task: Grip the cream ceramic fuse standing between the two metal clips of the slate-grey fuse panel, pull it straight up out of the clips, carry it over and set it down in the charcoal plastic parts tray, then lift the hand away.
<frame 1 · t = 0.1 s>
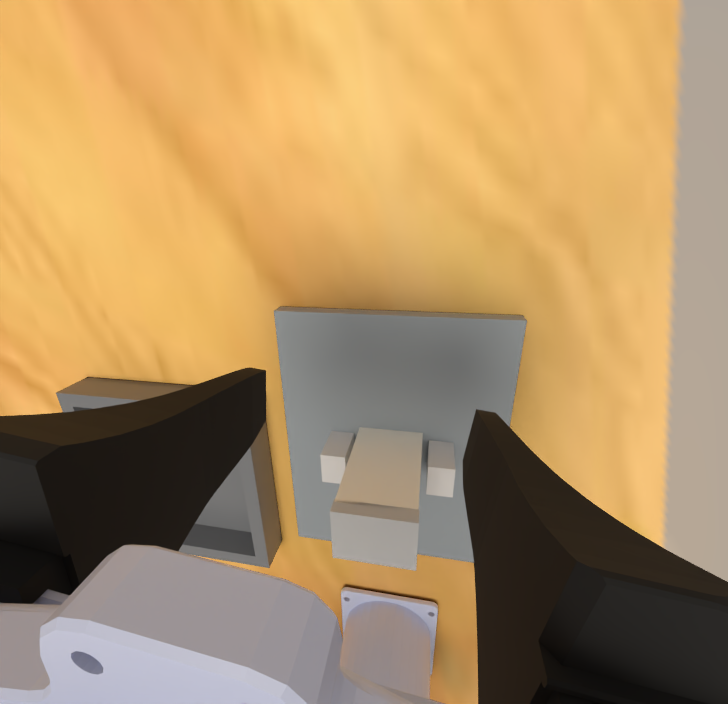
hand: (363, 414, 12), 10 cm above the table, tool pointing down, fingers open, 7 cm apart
blown fuse: (390, 449, 23), point 1 cm above the table, touching fuse panel
parts tray: (189, 462, 28), on the table
fuse panel: (392, 440, 24), on the table
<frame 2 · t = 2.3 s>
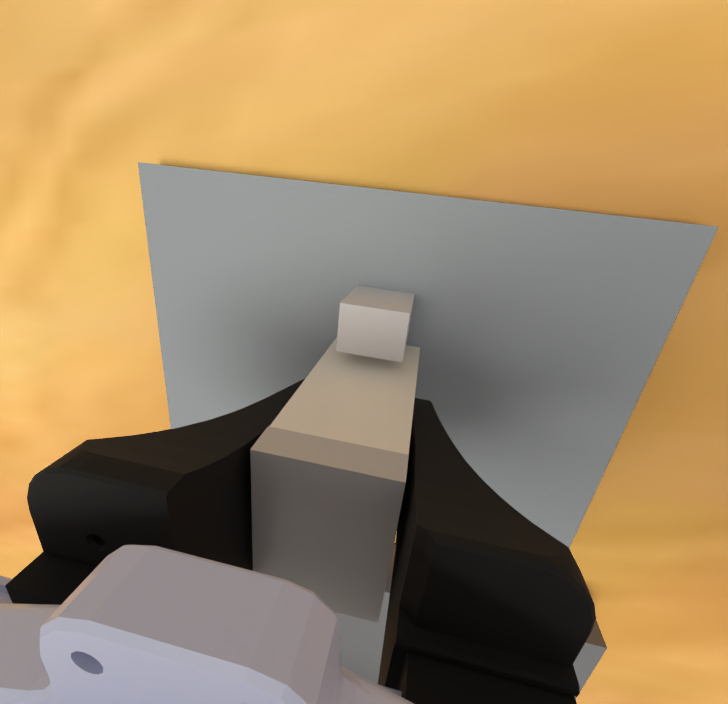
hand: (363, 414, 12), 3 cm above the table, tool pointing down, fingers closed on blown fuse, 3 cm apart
blown fuse: (372, 388, 14), point 1 cm above the table, touching fuse panel, gripper
parts tray: (412, 638, 21), on the table
fuse panel: (376, 377, 15), on the table
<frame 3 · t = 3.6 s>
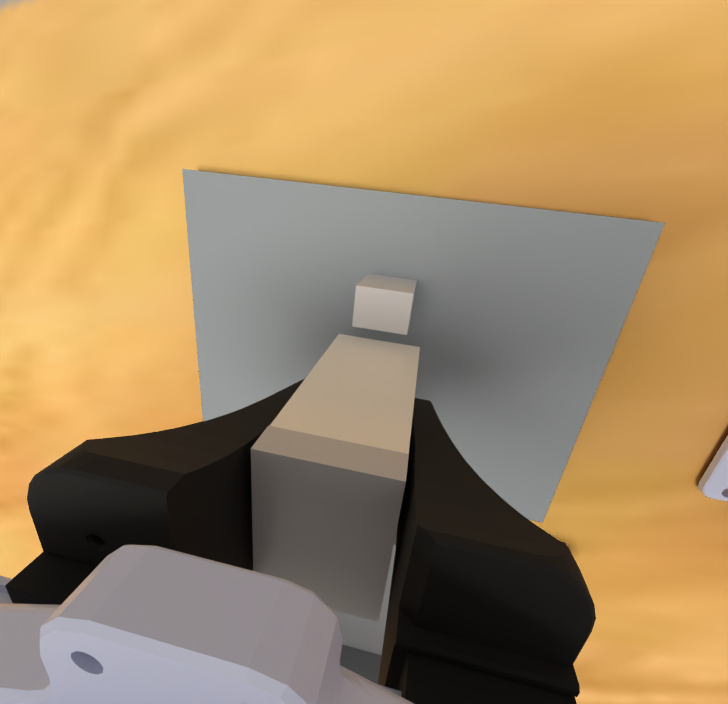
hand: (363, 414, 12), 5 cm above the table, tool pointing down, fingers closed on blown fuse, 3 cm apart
blown fuse: (372, 388, 14), point 3 cm above the table, touching gripper
parts tray: (413, 596, 23), on the table
fuse panel: (383, 354, 17), on the table
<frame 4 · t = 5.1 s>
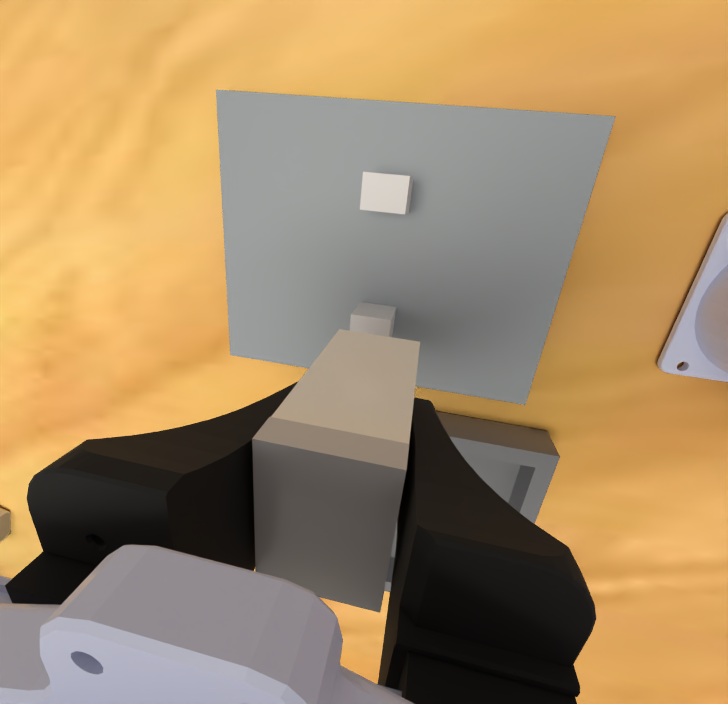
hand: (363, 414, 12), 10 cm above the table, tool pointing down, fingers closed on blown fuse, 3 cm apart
blown fuse: (373, 383, 14), point 8 cm above the table, touching gripper
parts tray: (414, 494, 25), on the table
fuse panel: (385, 257, 20), on the table
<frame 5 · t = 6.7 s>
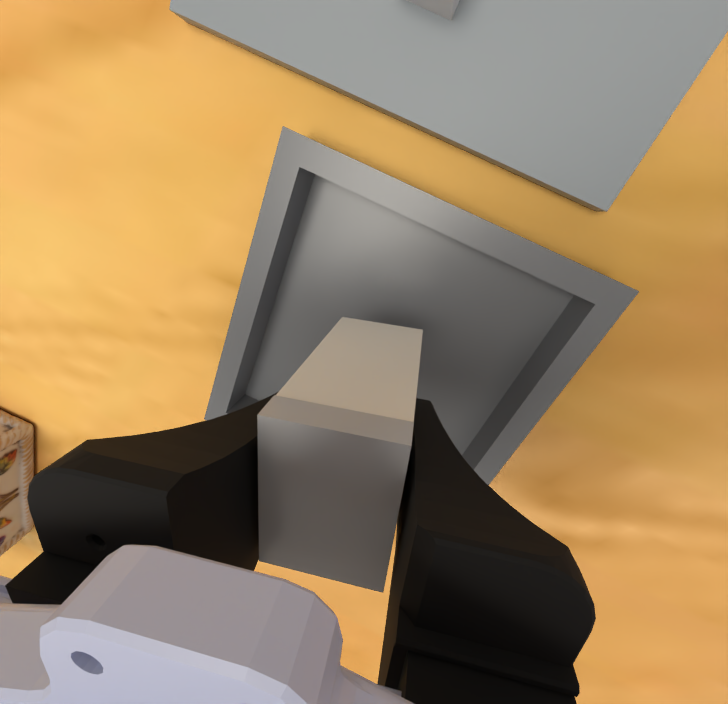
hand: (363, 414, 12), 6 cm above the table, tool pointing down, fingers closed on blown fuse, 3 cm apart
blown fuse: (375, 371, 14), point 4 cm above the table, touching gripper
parts tray: (387, 346, 18), on the table
when the fingers open (4 cm above the table, at t = 7.9 s): blown fuse drops 1 cm, resting on parts tray.
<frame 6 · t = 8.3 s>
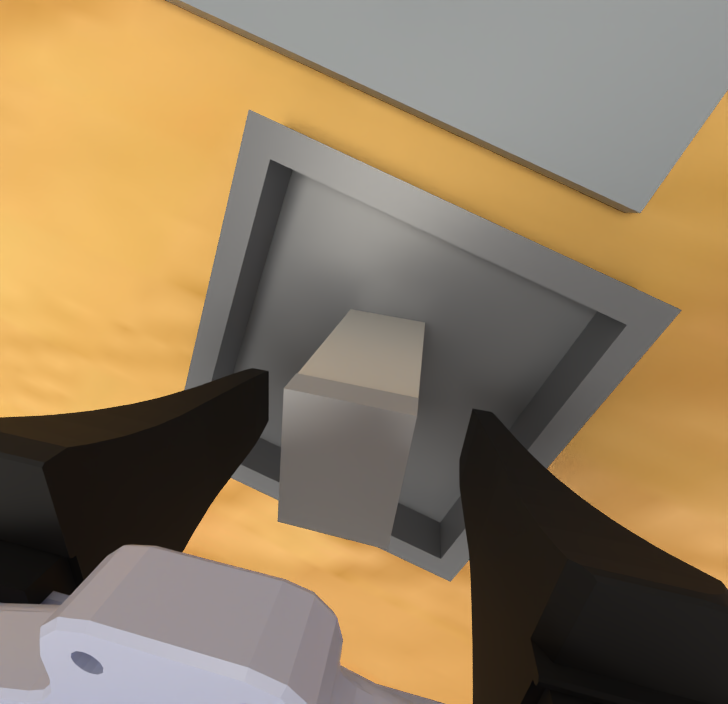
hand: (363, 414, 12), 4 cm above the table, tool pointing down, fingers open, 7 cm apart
blown fuse: (380, 361, 15), resting on parts tray
parts tray: (380, 367, 16), on the table
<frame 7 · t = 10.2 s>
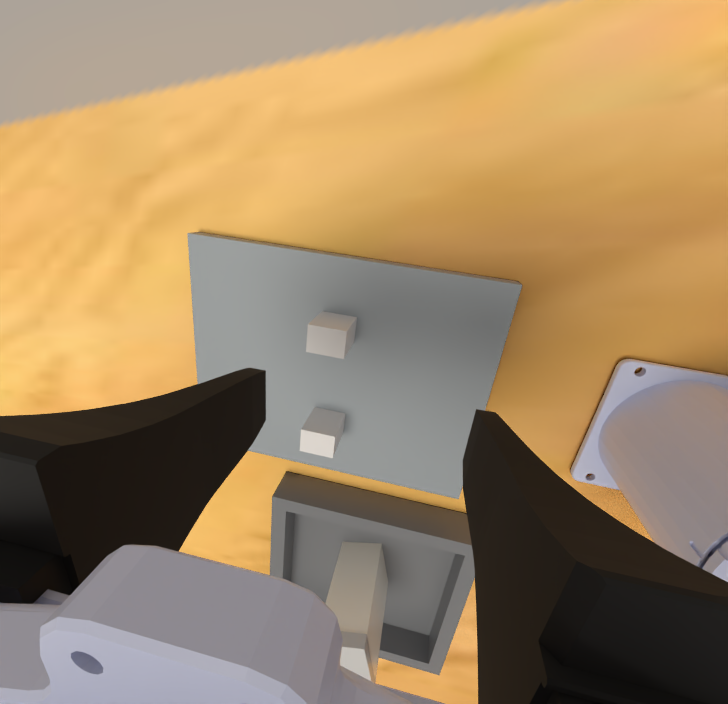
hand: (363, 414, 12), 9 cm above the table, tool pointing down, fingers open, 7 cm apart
blown fuse: (365, 562, 28), resting on parts tray
parts tray: (367, 561, 28), on the table
fuse panel: (337, 369, 22), on the table
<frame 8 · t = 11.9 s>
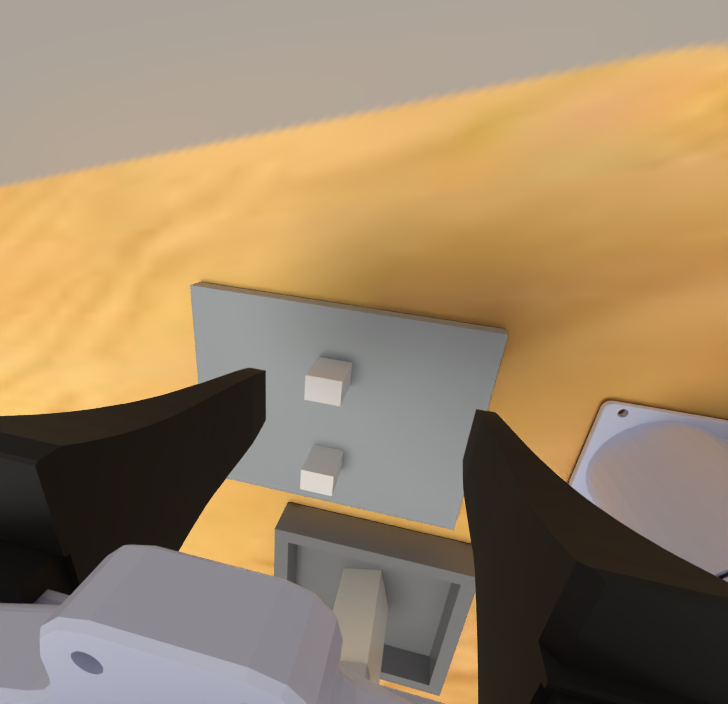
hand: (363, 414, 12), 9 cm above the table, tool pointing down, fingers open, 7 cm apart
blown fuse: (366, 587, 29), resting on parts tray
parts tray: (368, 585, 29), on the table
fuse panel: (335, 408, 23), on the table
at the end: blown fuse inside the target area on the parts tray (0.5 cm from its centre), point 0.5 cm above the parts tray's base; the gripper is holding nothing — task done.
